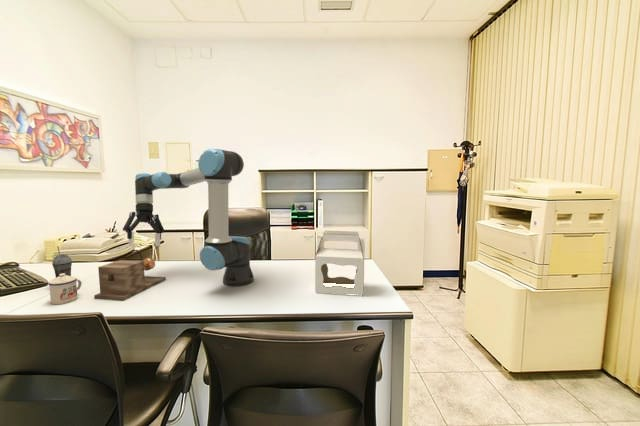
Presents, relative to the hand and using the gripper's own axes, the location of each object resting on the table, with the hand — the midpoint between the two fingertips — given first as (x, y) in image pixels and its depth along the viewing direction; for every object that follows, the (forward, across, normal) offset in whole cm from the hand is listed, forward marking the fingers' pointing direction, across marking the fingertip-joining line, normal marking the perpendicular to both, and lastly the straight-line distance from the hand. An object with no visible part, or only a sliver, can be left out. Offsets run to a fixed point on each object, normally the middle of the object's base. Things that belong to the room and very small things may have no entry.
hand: (145, 246), depth 144 cm
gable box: (+33, -36, +84) cm, 98 cm away
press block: (+20, +3, -4) cm, 20 cm away
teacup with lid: (+21, +23, -18) cm, 36 cm away
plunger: (+14, +4, -3) cm, 15 cm away
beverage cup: (+15, +15, -36) cm, 42 cm away
